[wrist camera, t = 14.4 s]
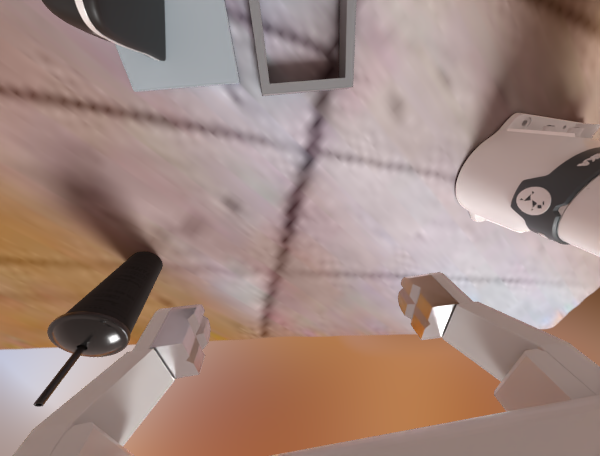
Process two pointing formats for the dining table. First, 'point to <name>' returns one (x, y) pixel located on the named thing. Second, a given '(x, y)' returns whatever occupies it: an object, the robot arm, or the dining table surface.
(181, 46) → the slate mat
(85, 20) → the battery charger
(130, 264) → the drinking cup
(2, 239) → the dining table surface
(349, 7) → the charging station
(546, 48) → the dining table surface
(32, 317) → the dining table surface
